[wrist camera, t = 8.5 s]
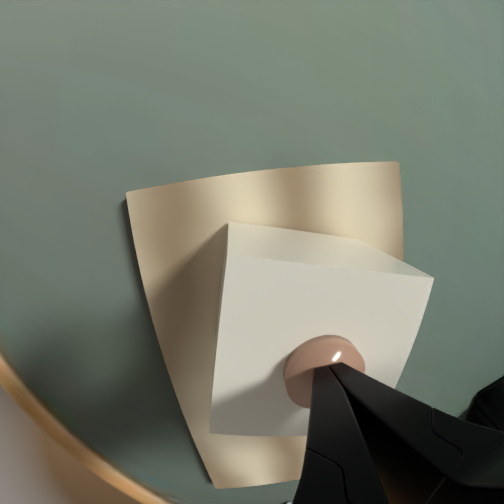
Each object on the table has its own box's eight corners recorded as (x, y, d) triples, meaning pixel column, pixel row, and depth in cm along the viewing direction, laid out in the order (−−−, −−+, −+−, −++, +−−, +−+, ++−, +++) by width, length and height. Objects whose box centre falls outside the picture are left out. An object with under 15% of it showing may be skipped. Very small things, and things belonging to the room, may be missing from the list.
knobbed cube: (228, 221, 14) (227, 260, 7) (356, 239, 14) (445, 283, 7) (214, 342, 15) (208, 445, 8) (329, 349, 16) (379, 438, 9)
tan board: (389, 162, 15) (438, 158, 10) (369, 451, 20) (386, 486, 16) (132, 191, 14) (95, 196, 10) (215, 480, 20) (215, 519, 15)
